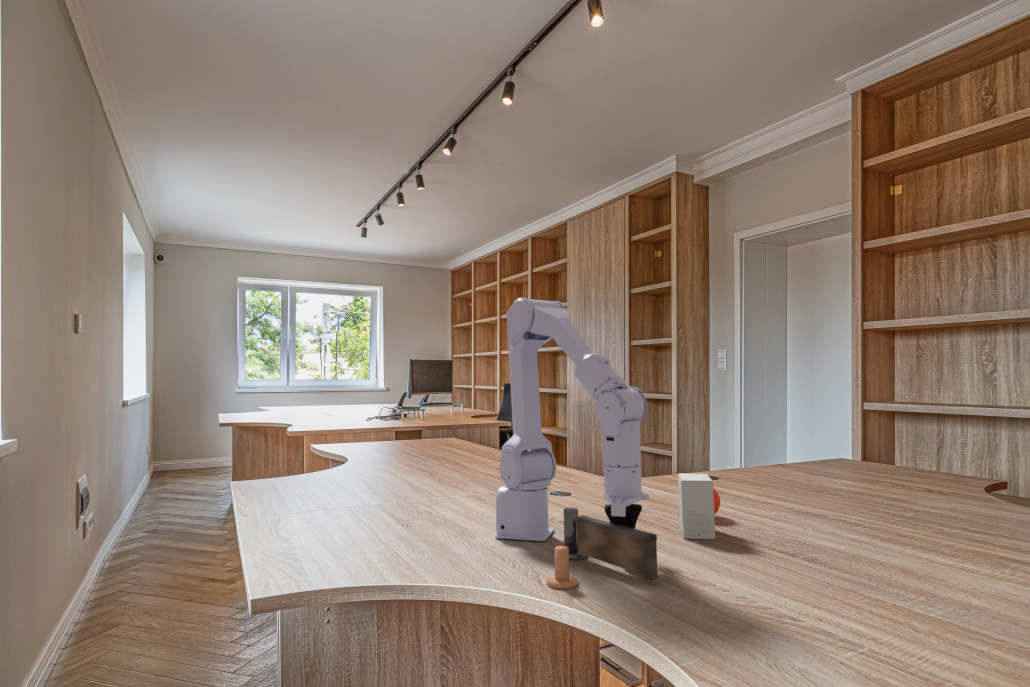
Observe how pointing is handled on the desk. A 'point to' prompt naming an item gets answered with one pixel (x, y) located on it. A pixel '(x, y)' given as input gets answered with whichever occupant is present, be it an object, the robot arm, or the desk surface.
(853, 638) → the desk surface
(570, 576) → the post
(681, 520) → the small box
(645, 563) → the gate leaf
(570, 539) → the gate post
